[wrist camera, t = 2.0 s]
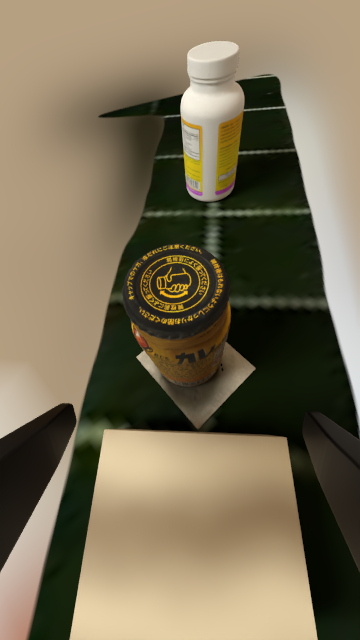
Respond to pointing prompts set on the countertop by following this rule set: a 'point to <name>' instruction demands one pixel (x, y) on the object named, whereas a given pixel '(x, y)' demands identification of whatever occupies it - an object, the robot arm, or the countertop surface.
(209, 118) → the supplement bottle
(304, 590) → the wooden block
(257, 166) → the countertop surface
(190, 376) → the condiment
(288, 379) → the countertop surface
